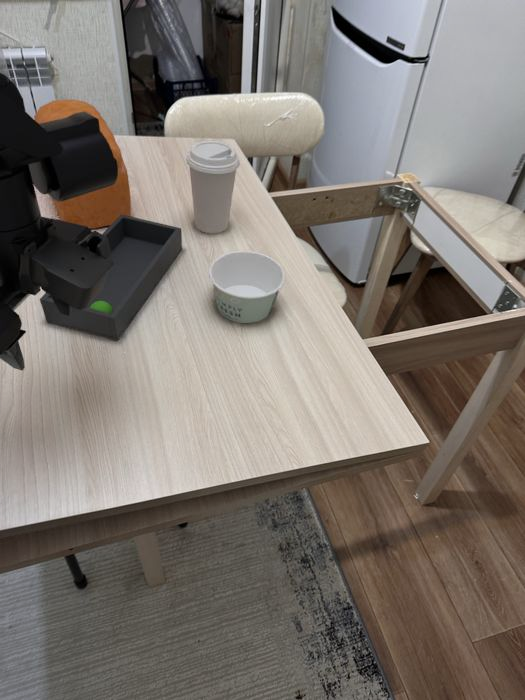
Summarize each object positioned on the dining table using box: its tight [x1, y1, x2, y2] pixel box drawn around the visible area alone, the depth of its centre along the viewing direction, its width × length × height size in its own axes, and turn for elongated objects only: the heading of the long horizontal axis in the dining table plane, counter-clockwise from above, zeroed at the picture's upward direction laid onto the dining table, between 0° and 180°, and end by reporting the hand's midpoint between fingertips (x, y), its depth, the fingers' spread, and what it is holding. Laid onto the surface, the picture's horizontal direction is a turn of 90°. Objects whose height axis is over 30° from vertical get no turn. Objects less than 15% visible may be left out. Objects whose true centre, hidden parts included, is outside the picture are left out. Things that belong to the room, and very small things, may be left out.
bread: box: [33, 99, 132, 229], centre depth 94 cm, size 14×26×16 cm, turn 25°
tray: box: [39, 214, 183, 342], centre depth 80 cm, size 12×26×4 cm, turn 165°
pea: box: [90, 301, 113, 314], centre depth 72 cm, size 4×4×4 cm
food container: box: [208, 250, 286, 324], centre depth 78 cm, size 12×12×6 cm
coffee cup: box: [185, 140, 241, 235], centre depth 91 cm, size 10×10×15 cm
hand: (44, 340), depth 54 cm, fingers open, 9 cm apart
